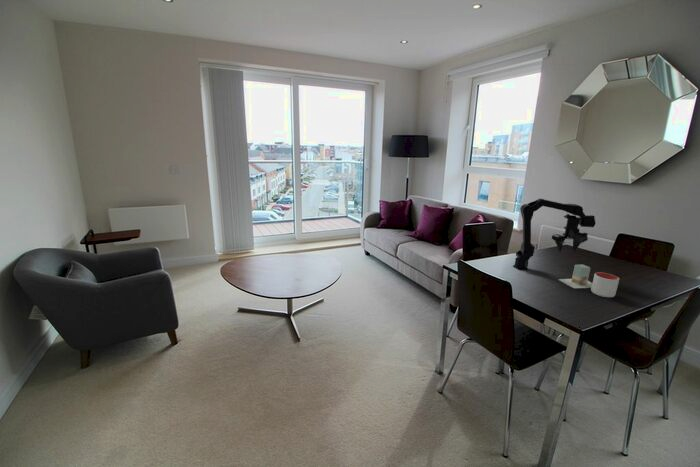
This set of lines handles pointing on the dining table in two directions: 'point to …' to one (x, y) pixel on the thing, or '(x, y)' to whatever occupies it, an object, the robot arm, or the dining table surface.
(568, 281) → the white flat rectangular panel
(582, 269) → the sage block
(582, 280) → the maple block
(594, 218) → the robot arm
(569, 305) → the dining table surface
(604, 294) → the cup
